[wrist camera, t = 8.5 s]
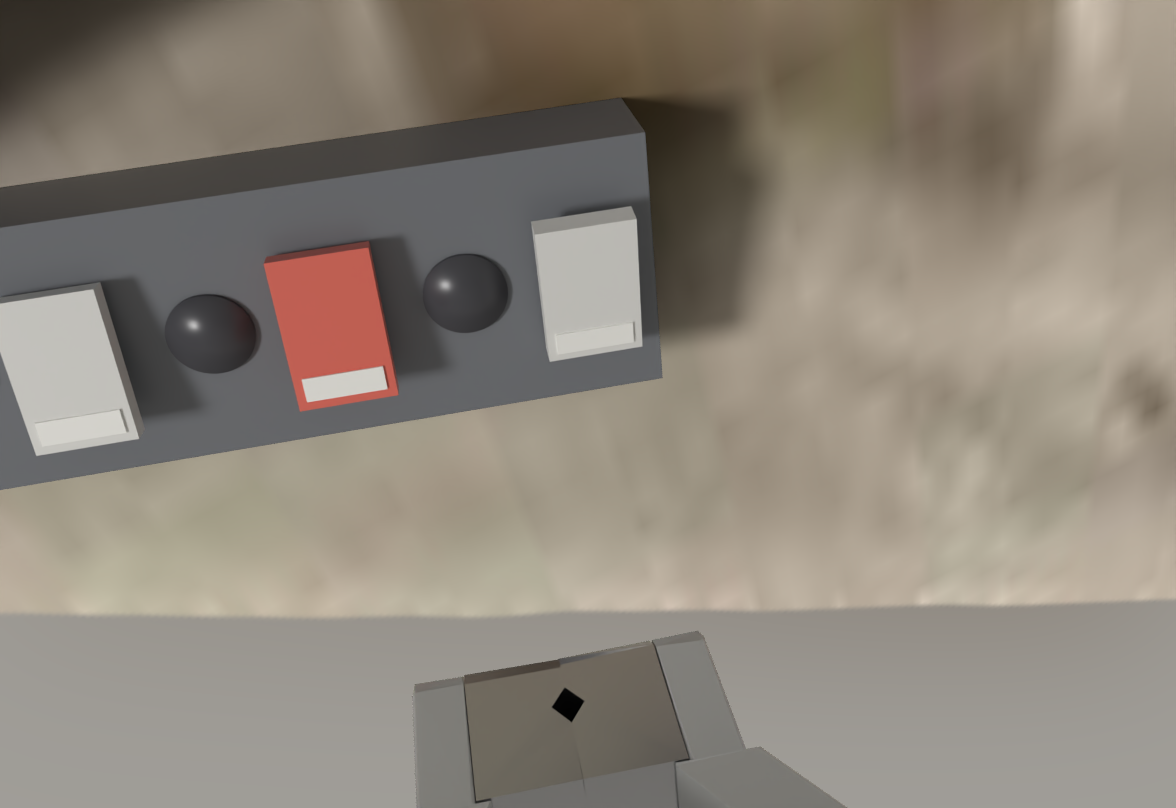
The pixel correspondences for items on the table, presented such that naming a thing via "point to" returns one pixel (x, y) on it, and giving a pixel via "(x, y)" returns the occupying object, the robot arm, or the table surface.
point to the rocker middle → (332, 325)
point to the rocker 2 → (589, 282)
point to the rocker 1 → (67, 369)
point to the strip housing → (319, 220)
